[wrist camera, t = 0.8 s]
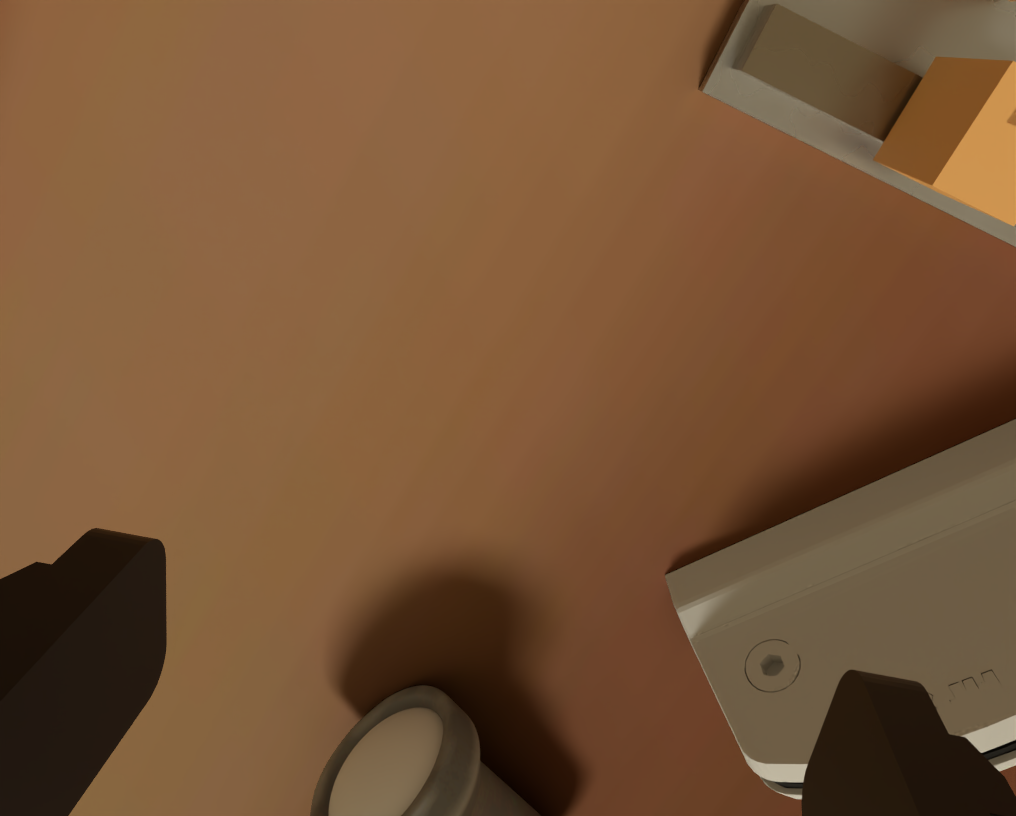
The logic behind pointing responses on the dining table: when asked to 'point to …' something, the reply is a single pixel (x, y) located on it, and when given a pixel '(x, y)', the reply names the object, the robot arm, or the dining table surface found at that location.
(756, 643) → the hinge
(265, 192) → the dining table surface
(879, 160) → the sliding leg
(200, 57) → the dining table surface
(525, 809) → the pipe fitting
